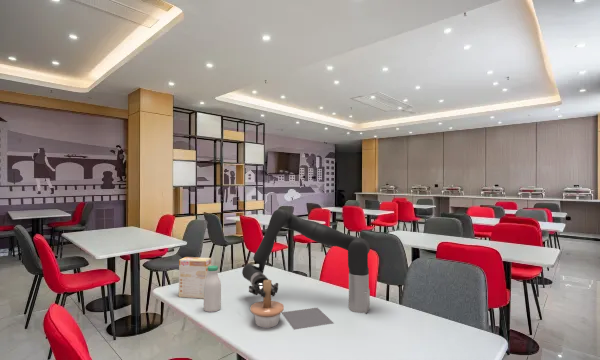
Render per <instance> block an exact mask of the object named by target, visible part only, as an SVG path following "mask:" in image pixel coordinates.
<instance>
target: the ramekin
mask: <svg viewBox="0 0 600 360" xmlns="http://www.w3.org/2000/svg"><path fill="white" fill-rule="evenodd" d="M253 315H254V322H255V325H256V326H257V327H260V328H264V329H265V328H266V329H267V328H273V327H276V326H277V325H278V324H279V321H280V316H281V313H279V314H277V315H272V316H259V315H255V314H253Z"/></svg>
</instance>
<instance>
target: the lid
mask: <svg viewBox="0 0 600 360" xmlns="http://www.w3.org/2000/svg"><path fill="white" fill-rule="evenodd" d="M271 283H272V280H271V279H268V280H264V281H263V290H264V291H265V297H264V298H263V297H262V298H263V299H262V301H261V300H260V301H257V302H254V303H253V304H251V306H250V313H252V314H253V315H254V314H255V315H259V316H272V315H277V314H279V313H280V314H282V313H281V312H284V311H285V309H284V308H285V306H284V304H283V303H282V302H280V301H276V300H272V295H271Z"/></svg>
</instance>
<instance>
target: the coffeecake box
mask: <svg viewBox="0 0 600 360" xmlns="http://www.w3.org/2000/svg"><path fill="white" fill-rule="evenodd" d="M178 265H179V266H178V297H179V298H189V299H191V298H192V299H200V300H201V299H202V300H204V284H205V281H206V278H207V276H208V267H209V266H212V257H196V256H195V257H194V256H185V257H183V258H180V259H178Z"/></svg>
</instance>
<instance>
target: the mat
mask: <svg viewBox="0 0 600 360" xmlns="http://www.w3.org/2000/svg"><path fill="white" fill-rule="evenodd" d="M280 314H282V316H283V317H284V319H286V321H287V323H288V324H289V325H290V326H291V328H292V329H293V331H294V330H299V329H300V330H301V329H305V328H307V329H308V328H312V327H313V328H314V327H320V326H325V325H333V324H334V321H332V320H331V319H330V318H329V316H327V314H325V313H324V312H323V311H322V310H321V309H319V307H312V308H311V307H310V308H305V309H297V310H290V311H289V310H288V311H282V312H281V313H280Z"/></svg>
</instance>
